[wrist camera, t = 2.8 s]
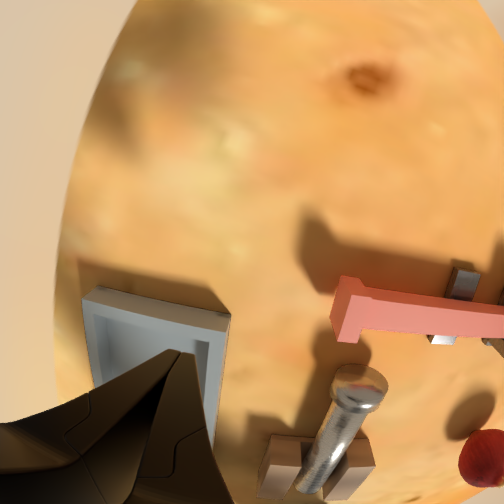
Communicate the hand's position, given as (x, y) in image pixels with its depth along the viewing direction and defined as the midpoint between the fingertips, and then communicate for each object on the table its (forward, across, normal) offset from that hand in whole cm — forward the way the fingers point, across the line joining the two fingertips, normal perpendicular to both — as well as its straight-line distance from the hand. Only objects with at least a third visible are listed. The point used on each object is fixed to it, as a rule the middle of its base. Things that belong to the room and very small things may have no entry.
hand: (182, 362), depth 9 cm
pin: (+8, -9, +11) cm, 17 cm away
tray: (+8, +4, +11) cm, 14 cm away
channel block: (+8, -9, +15) cm, 20 cm away
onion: (+8, -26, +13) cm, 30 cm away
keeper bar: (+8, -14, 0) cm, 16 cm away
